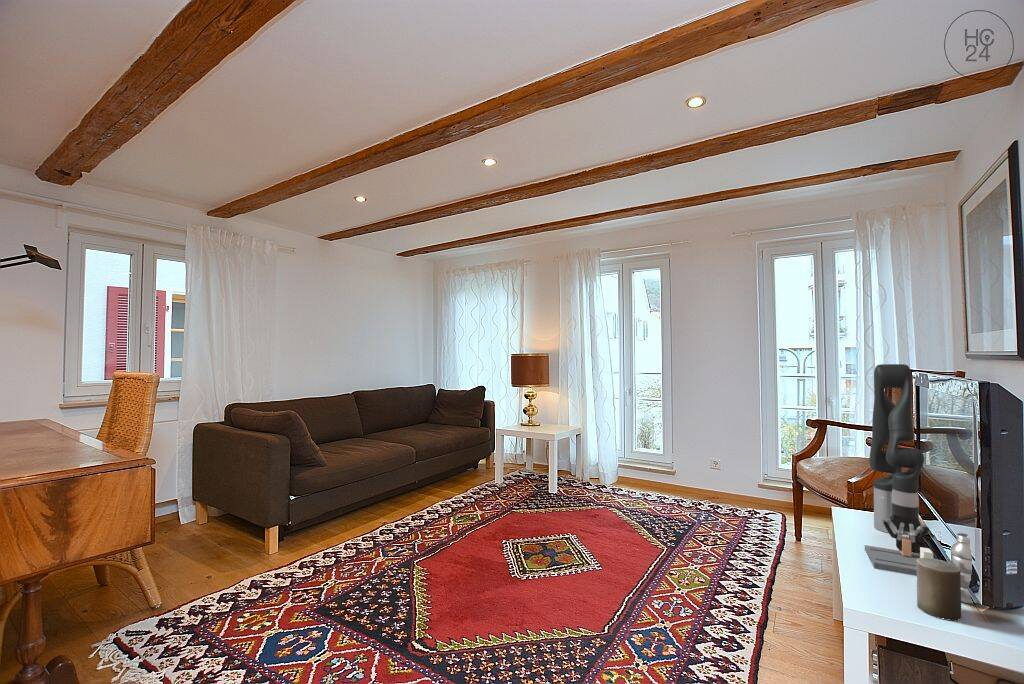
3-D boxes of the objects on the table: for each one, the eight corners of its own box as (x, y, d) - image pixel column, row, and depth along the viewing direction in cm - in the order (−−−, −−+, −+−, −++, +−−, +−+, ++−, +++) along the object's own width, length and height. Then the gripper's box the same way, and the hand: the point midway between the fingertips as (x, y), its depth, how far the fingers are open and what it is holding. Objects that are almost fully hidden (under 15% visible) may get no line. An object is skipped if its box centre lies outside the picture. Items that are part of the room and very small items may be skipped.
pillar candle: (965, 625, 130) (965, 571, 130) (919, 613, 136) (919, 561, 136) (956, 609, 138) (956, 558, 138) (913, 598, 144) (913, 550, 144)
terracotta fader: (902, 555, 168) (902, 539, 168) (899, 550, 171) (899, 535, 171) (911, 556, 167) (911, 541, 167) (908, 552, 170) (907, 536, 170)
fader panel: (874, 568, 163) (874, 562, 163) (864, 550, 177) (864, 544, 177) (949, 581, 154) (949, 575, 154) (933, 561, 168) (933, 555, 168)
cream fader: (923, 568, 158) (923, 551, 158) (920, 563, 162) (920, 547, 162) (933, 569, 157) (933, 553, 157) (929, 564, 161) (929, 548, 161)
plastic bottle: (987, 608, 138) (986, 540, 139) (960, 605, 140) (960, 539, 140) (970, 596, 145) (969, 532, 145) (945, 594, 146) (944, 530, 146)
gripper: (926, 502, 169) (926, 550, 169) (878, 497, 176) (878, 543, 175) (933, 509, 163) (933, 559, 162) (883, 503, 169) (883, 551, 169)
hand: (905, 550), depth 169 cm, fingers closed on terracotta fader, 2 cm apart
